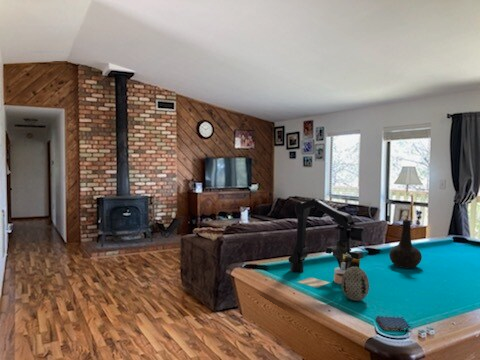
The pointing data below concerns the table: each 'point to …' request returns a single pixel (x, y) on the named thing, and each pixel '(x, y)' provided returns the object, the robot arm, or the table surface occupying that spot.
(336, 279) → the bowl
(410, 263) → the dark brown vase
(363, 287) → the decorative egg
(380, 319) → the woven mat
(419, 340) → the table surface
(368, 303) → the table surface
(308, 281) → the mat
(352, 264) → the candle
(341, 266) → the lid
